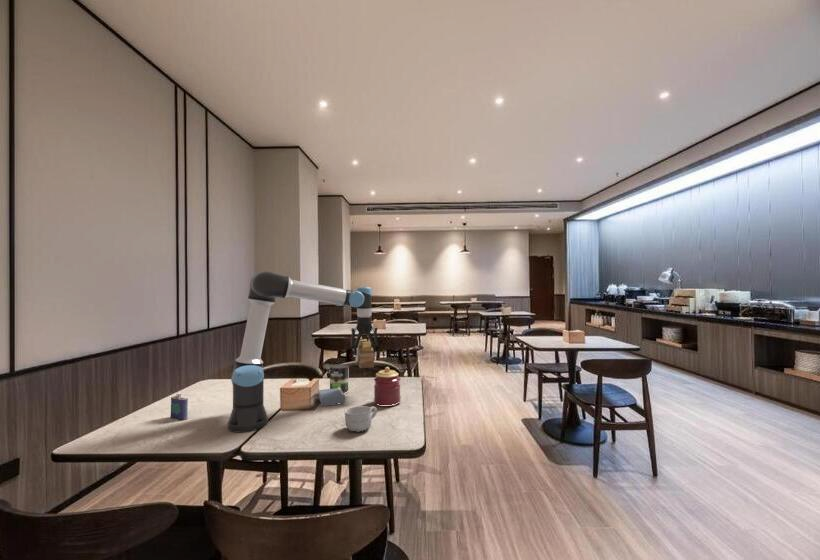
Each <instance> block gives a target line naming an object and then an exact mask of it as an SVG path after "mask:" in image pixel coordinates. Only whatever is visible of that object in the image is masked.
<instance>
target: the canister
mask: <svg viewBox="0 0 820 560" xmlns="http://www.w3.org/2000/svg"><path fill="white" fill-rule="evenodd" d="M399 374H400V373H398V372H397V371H396V370H394V369H390V366H386V367H384V369H381V370H379V371H378V372H376V373H375V377H374V379H373V381H374V385H373V388H374V389H373V390H374V393H373V394H374V398H373V402H374V404H375V403H376V404H379V405H392V404H396V403H398V402H400V403H401V384H400V381H401V378H400V376H399ZM376 404H375V405H376Z"/></svg>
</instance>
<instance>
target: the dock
mask: <svg viewBox="0 0 820 560" xmlns="http://www.w3.org/2000/svg"><path fill="white" fill-rule="evenodd" d="M318 400H319V402H321V403H320V405H321V407H326V406H325V405H329V406H333V405H332V404H337V405H339V404H338V403H345V404H346V394H344V393H343V392H342V390H341V389H340V387H339V388H335V389H330V388H328V389H327V388H326V389H319V390H318Z"/></svg>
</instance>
